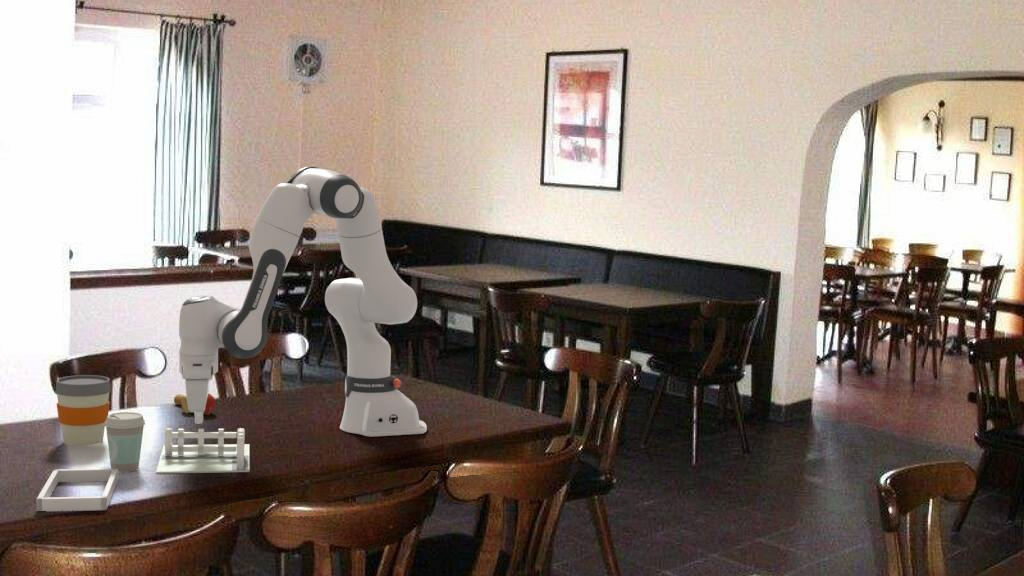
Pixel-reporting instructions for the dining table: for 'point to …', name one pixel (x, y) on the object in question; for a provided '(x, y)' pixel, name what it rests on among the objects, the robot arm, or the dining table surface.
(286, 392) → the dining table surface
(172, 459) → the card
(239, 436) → the fence fixed
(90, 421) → the reusable coffee cup
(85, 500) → the rim
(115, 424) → the coffee cup
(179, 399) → the kendama
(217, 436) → the white toy fence
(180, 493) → the dining table surface
